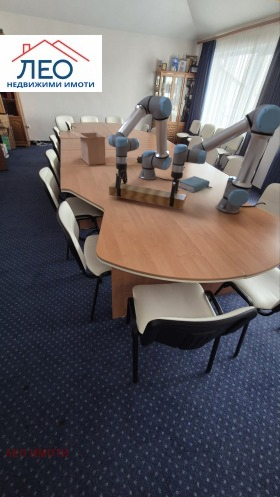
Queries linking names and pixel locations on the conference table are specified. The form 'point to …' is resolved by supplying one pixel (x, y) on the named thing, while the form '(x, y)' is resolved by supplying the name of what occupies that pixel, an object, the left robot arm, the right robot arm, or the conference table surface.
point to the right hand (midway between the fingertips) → (172, 203)
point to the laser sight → (140, 159)
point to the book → (193, 183)
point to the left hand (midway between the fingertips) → (121, 193)
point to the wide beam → (148, 195)
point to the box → (92, 146)
